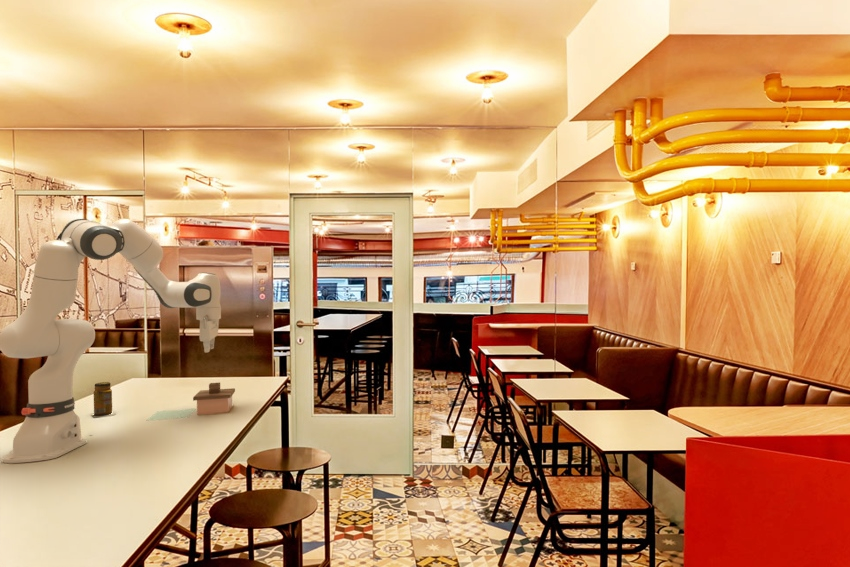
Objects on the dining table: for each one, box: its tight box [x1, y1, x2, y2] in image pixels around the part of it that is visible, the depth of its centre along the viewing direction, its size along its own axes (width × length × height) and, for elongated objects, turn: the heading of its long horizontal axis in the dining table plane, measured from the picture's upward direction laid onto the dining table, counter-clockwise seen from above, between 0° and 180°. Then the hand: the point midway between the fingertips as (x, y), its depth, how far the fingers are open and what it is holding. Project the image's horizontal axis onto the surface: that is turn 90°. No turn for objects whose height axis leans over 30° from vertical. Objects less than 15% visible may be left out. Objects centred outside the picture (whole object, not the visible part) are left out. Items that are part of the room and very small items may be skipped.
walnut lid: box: [192, 382, 236, 401], centre depth 204 cm, size 13×13×5 cm
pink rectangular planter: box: [196, 395, 233, 416], centre depth 204 cm, size 11×11×6 cm
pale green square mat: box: [146, 408, 196, 422], centre depth 199 cm, size 14×14×1 cm
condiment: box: [90, 381, 116, 418], centre depth 203 cm, size 7×8×12 cm
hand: (209, 350), depth 204 cm, fingers open, 8 cm apart
